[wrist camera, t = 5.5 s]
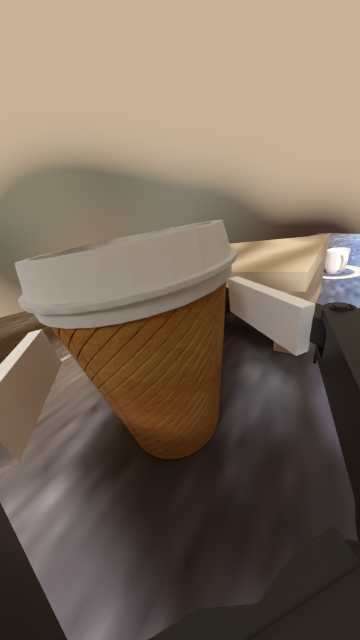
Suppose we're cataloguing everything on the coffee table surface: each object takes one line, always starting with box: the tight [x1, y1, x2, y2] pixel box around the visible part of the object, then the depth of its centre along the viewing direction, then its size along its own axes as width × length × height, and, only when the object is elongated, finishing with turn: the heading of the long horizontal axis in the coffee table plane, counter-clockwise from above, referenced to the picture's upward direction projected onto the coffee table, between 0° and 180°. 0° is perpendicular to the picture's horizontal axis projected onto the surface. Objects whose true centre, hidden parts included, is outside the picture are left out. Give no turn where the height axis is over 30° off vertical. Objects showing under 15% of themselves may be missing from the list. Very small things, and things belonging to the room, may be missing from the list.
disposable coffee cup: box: [15, 220, 237, 459], centre depth 11 cm, size 10×10×12 cm
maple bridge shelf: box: [226, 235, 330, 355], centre depth 26 cm, size 18×16×8 cm
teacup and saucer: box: [323, 248, 360, 279], centre depth 33 cm, size 9×8×4 cm
